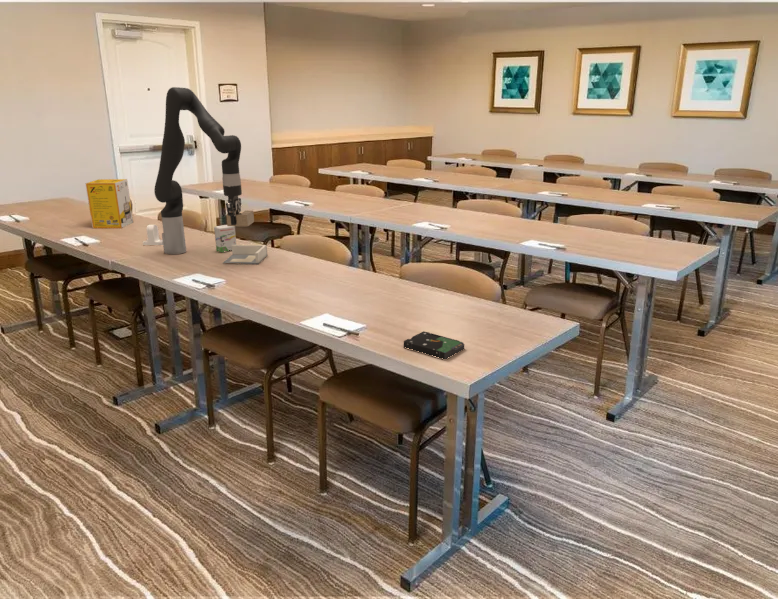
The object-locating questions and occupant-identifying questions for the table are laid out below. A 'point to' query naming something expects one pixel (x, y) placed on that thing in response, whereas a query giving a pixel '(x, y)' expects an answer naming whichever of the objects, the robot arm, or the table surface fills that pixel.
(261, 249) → the tray
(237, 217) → the tan boxy piece
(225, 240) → the ink box
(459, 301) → the table surface
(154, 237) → the cable organizer
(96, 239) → the table surface
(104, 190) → the packaging box
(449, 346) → the disk drive
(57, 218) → the table surface
